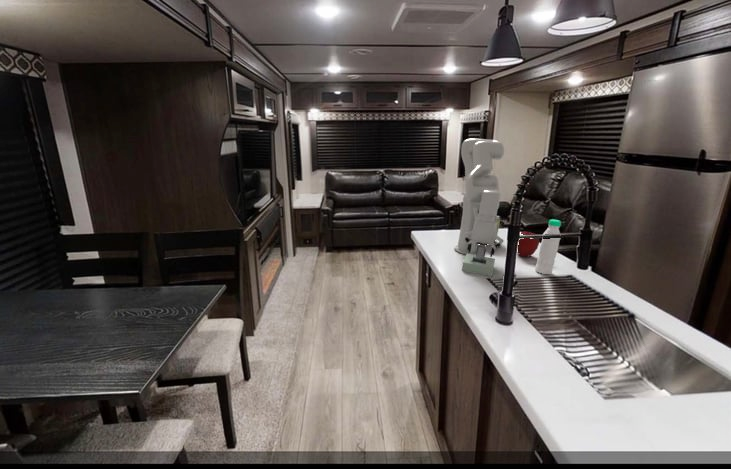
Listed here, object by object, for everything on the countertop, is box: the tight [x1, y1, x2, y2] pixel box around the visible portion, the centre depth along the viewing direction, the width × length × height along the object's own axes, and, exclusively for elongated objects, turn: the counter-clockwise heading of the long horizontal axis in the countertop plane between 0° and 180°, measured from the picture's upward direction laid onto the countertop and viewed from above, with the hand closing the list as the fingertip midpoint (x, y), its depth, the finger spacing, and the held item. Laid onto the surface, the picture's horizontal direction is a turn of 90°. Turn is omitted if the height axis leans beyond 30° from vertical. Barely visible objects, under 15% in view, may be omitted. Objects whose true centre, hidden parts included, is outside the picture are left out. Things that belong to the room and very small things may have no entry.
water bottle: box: [534, 218, 562, 275], centre depth 153 cm, size 7×7×25 cm
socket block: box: [461, 254, 496, 277], centre depth 156 cm, size 13×13×4 cm
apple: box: [517, 230, 540, 258], centre depth 175 cm, size 12×12×13 cm
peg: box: [475, 245, 487, 263], centre depth 155 cm, size 4×4×11 cm
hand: (480, 253), depth 155 cm, fingers open, 9 cm apart
